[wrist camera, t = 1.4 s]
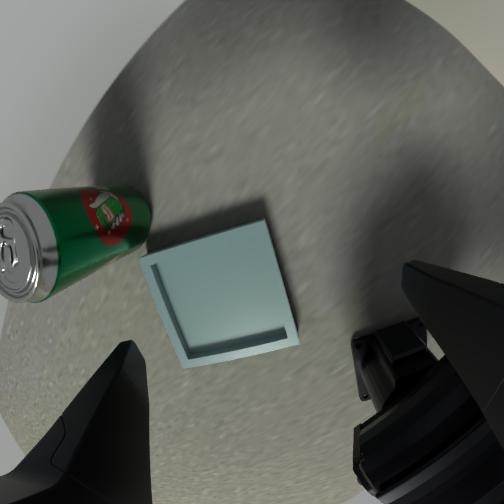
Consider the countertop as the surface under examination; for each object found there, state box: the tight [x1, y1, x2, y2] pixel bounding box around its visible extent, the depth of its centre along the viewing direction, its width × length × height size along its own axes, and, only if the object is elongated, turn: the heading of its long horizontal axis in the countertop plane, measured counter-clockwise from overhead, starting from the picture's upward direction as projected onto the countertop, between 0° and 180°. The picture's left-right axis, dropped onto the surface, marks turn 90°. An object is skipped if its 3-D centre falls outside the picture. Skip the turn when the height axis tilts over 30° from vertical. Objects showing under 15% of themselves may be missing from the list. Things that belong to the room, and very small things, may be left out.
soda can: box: [0, 185, 151, 303], centre depth 15 cm, size 5×5×12 cm
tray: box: [138, 218, 300, 369], centre depth 21 cm, size 9×9×2 cm
